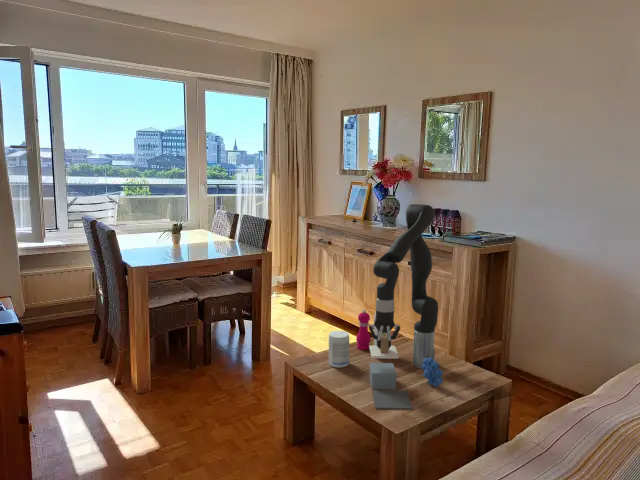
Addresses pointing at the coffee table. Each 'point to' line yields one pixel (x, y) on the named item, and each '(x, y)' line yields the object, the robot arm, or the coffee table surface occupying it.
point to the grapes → (432, 371)
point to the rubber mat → (391, 399)
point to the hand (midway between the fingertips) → (383, 348)
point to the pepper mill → (363, 331)
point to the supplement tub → (338, 349)
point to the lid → (383, 350)
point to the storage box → (382, 376)
